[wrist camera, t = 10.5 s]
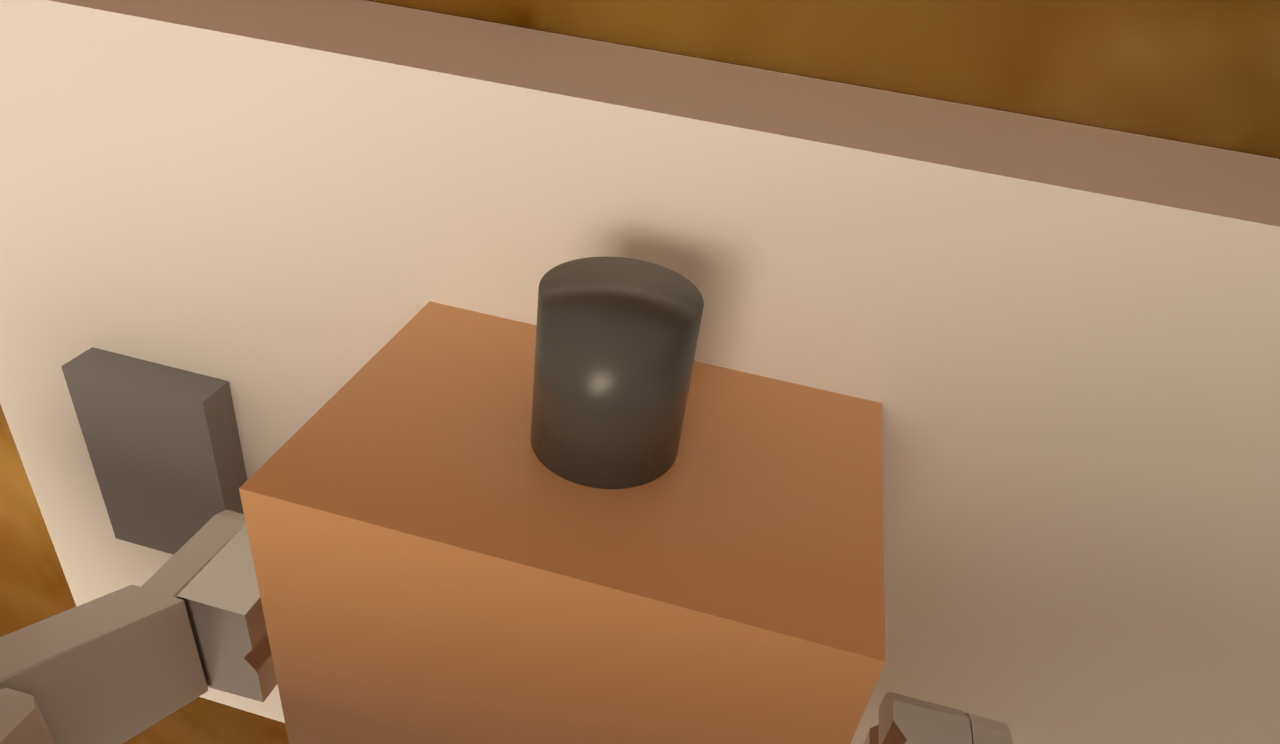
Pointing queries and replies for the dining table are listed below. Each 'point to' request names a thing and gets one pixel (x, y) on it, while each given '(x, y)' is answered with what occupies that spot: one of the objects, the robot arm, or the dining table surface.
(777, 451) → the plug
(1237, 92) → the dining table surface
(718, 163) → the socket plate
